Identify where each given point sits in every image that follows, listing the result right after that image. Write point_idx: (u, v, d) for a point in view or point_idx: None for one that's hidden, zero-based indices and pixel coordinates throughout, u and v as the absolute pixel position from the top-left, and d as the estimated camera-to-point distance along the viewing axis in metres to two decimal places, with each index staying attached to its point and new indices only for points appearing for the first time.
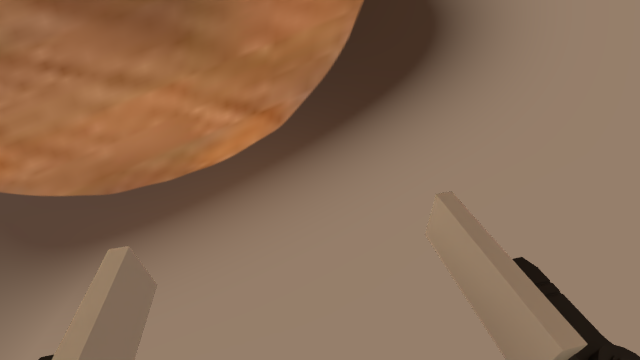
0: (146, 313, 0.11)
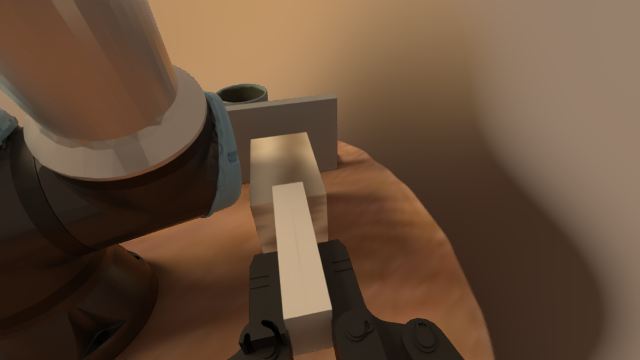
0: None
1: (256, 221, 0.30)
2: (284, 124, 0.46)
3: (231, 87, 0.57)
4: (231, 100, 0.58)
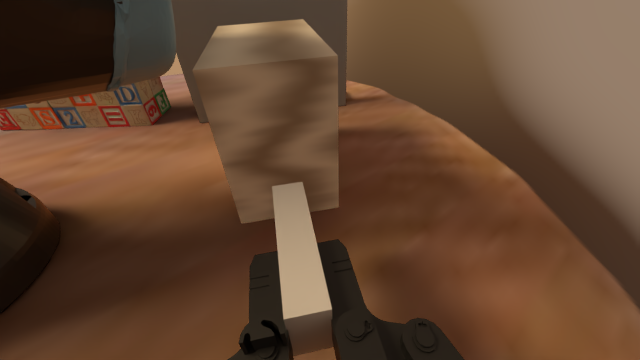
0: None
1: (209, 111, 0.16)
2: None
3: None
4: None
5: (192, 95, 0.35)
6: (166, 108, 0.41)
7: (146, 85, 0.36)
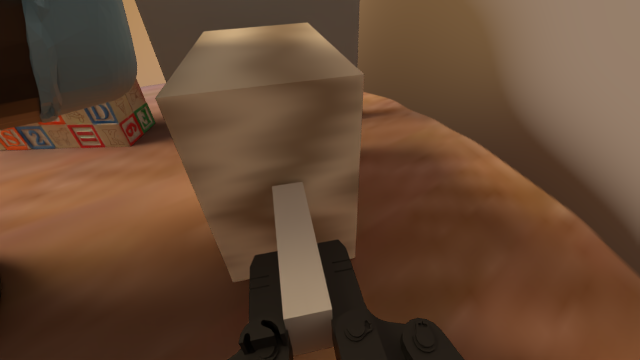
0: None
1: (183, 152, 0.12)
2: None
3: None
4: None
5: None
6: (150, 125, 0.36)
7: (123, 101, 0.31)
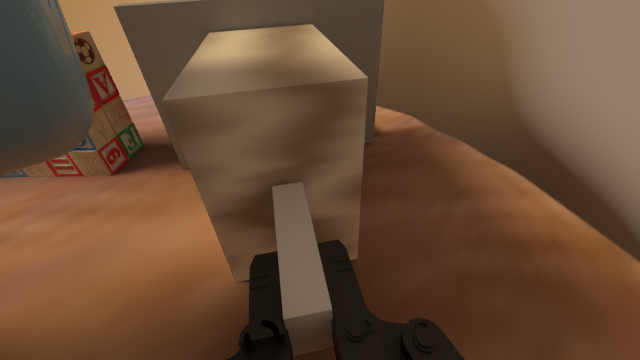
0: None
1: (189, 153, 0.12)
2: None
3: None
4: None
5: (171, 136, 0.26)
6: (137, 148, 0.32)
7: (103, 123, 0.27)
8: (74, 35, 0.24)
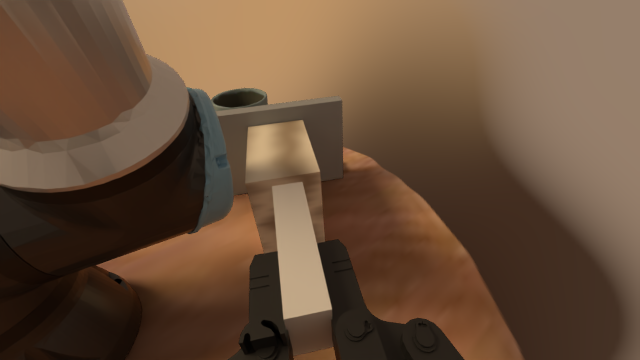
0: None
1: (251, 200, 0.31)
2: None
3: (229, 92, 0.54)
4: (229, 105, 0.55)
5: None
6: None
7: None
8: None
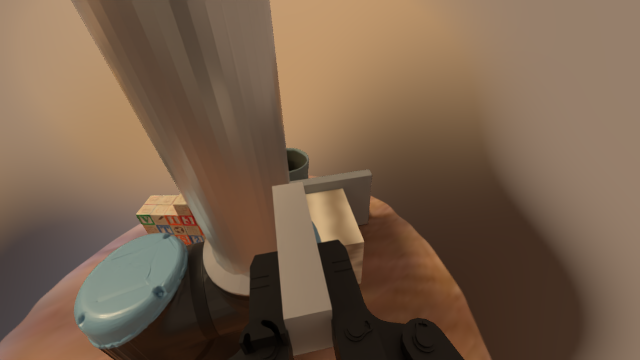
0: None
1: None
2: None
3: None
4: None
5: None
6: None
7: None
8: None
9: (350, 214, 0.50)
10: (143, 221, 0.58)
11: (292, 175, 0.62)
